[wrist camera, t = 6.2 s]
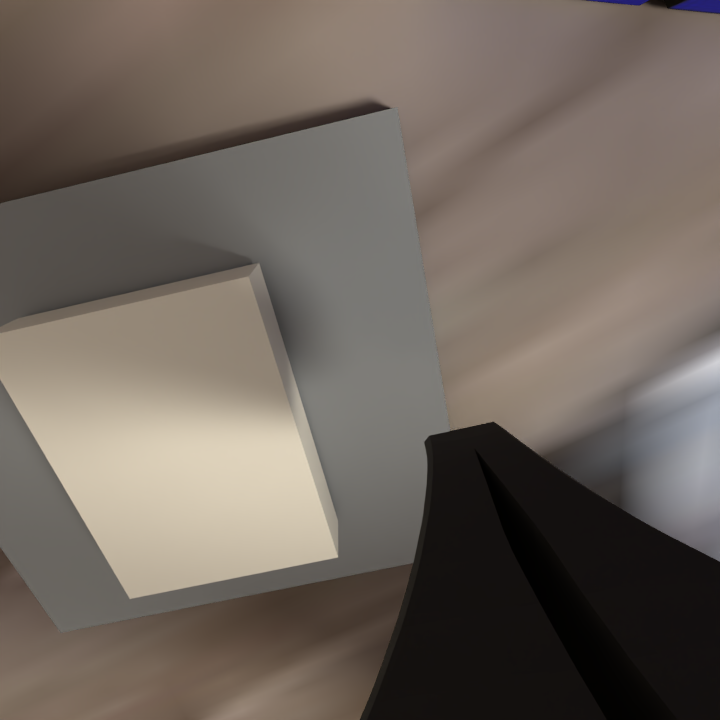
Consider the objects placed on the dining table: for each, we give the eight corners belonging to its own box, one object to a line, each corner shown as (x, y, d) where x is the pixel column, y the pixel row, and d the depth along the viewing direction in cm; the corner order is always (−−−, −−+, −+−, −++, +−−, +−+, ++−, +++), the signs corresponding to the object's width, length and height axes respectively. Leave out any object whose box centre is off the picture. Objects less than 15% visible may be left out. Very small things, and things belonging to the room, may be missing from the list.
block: (338, 557, 13) (129, 599, 13) (338, 516, 14) (150, 554, 14) (248, 275, 10) (-24, 338, 10) (260, 261, 11) (23, 315, 11)
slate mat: (466, 540, 16) (469, 552, 15) (68, 619, 16) (60, 633, 16) (394, 109, 10) (396, 107, 10) (-185, 249, 11) (-207, 253, 11)
